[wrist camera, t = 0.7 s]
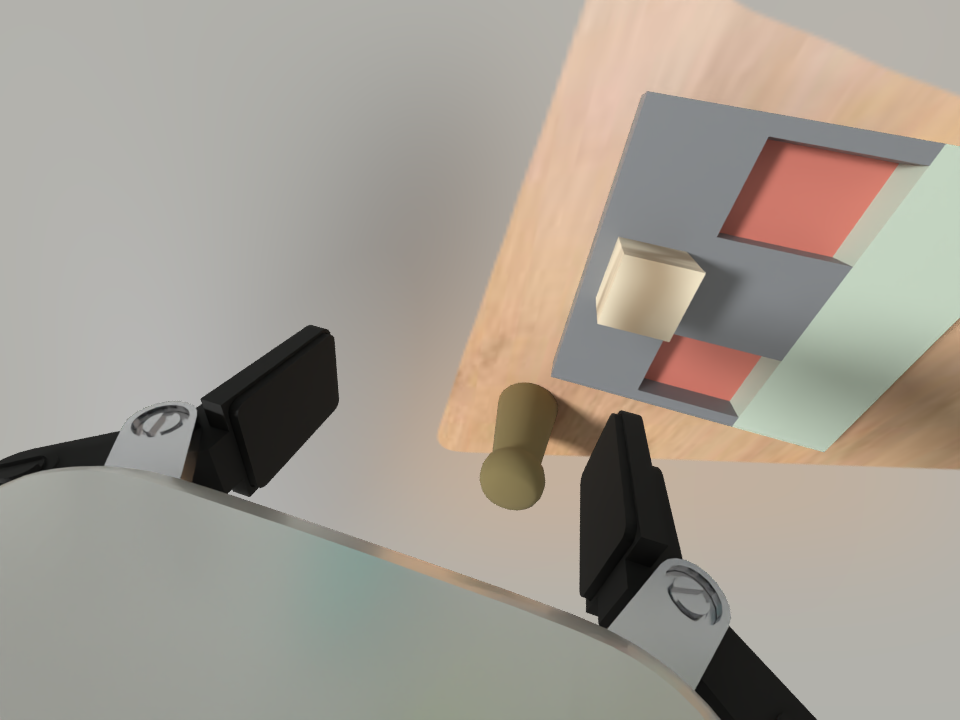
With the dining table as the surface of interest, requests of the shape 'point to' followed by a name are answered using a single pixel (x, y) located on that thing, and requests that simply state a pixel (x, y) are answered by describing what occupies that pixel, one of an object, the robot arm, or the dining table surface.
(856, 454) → the dining table surface
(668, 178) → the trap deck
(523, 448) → the olive pawn
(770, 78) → the dining table surface
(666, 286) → the beech block
